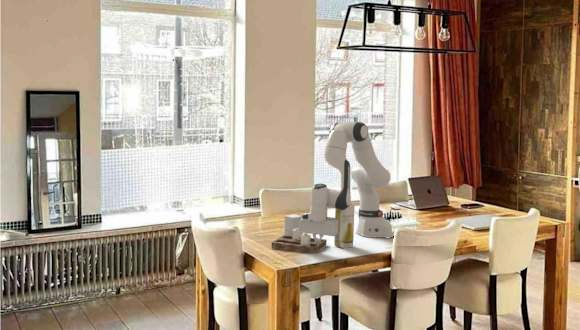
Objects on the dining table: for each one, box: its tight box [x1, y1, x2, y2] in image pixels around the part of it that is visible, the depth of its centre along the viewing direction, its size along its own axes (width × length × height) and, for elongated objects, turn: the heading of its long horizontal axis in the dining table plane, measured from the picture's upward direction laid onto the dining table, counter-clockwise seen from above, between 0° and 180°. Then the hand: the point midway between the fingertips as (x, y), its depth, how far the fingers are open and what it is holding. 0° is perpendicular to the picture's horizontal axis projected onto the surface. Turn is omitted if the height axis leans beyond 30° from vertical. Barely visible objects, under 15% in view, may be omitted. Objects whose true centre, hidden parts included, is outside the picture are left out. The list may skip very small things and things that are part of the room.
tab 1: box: [292, 228, 302, 240], centre depth 342 cm, size 4×4×7 cm
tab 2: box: [301, 233, 312, 246], centre depth 331 cm, size 4×4×7 cm
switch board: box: [271, 234, 327, 254], centre depth 337 cm, size 24×18×3 cm
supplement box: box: [284, 213, 304, 235], centre depth 353 cm, size 7×7×13 cm
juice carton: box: [333, 203, 355, 249], centre depth 338 cm, size 9×8×24 cm
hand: (317, 242), depth 328 cm, fingers closed
